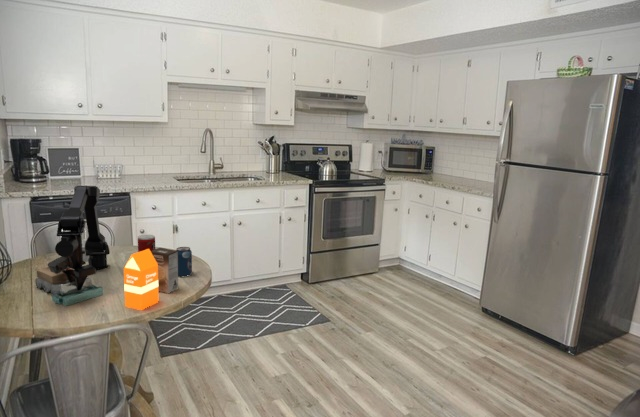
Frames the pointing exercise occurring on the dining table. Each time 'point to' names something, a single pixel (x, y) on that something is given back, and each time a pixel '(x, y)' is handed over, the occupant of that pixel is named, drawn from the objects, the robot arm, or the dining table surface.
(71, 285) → the roller
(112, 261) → the dining table surface
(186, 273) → the soda can
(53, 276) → the slab
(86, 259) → the lumpy-topped squat cylinder
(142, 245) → the canned food
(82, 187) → the robot arm
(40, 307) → the dining table surface
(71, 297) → the roller bed
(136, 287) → the orange juice
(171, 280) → the coffee box
